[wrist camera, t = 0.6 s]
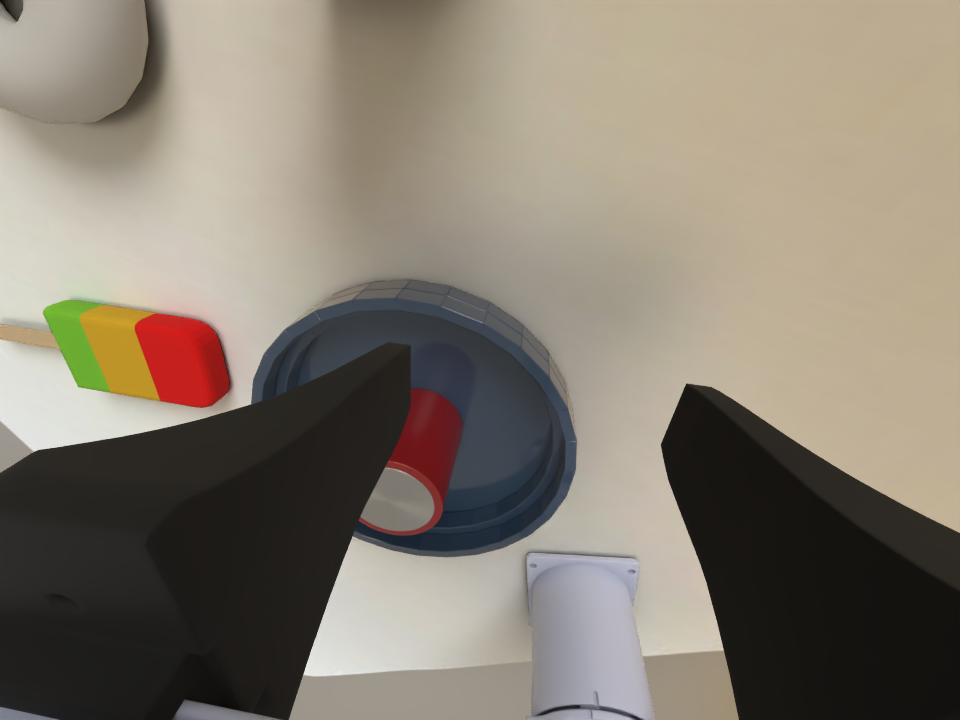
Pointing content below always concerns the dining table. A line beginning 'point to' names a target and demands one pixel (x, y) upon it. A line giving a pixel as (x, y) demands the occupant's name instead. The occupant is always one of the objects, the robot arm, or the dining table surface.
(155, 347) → the popsicle
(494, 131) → the dining table surface
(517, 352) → the dark blue round plate
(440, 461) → the can
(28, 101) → the donut
